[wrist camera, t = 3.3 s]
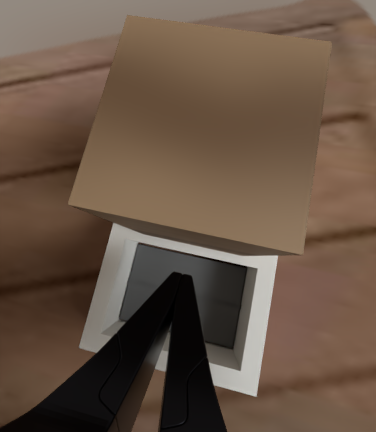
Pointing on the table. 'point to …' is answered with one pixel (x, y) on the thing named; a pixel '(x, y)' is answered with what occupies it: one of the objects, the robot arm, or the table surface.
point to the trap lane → (205, 293)
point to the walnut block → (207, 137)
